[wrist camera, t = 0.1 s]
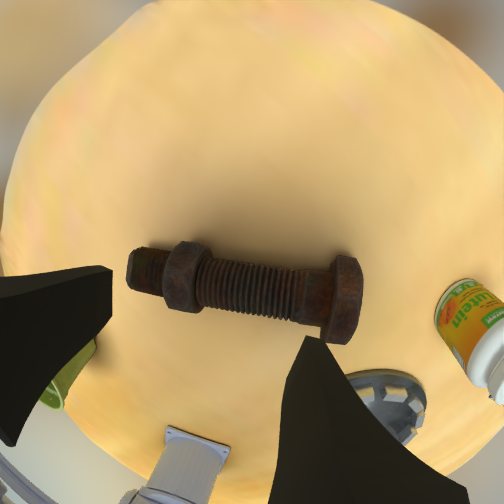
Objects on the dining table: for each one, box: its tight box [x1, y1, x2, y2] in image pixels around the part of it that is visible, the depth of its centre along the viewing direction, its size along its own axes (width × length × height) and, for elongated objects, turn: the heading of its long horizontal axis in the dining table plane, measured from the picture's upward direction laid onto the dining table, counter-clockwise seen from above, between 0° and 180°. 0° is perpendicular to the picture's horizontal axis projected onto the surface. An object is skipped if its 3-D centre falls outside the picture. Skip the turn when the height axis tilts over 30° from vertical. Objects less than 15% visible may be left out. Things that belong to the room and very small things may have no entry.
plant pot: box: [38, 338, 96, 411], centre depth 20 cm, size 9×9×9 cm
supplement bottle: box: [435, 279, 504, 405], centre depth 12 cm, size 5×5×10 cm
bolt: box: [126, 241, 364, 345], centre depth 17 cm, size 6×5×15 cm
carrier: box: [345, 369, 427, 445], centre depth 20 cm, size 14×14×2 cm
